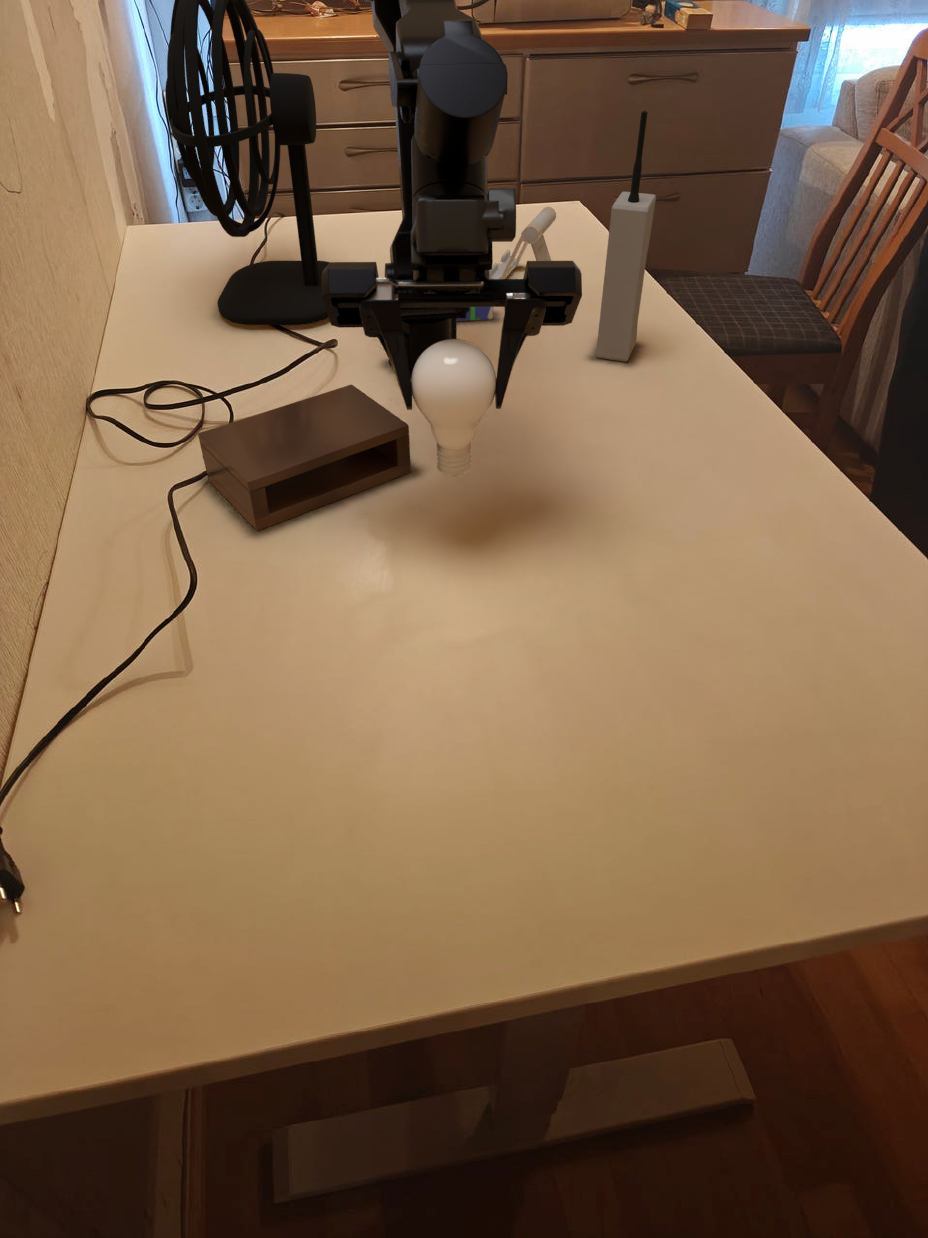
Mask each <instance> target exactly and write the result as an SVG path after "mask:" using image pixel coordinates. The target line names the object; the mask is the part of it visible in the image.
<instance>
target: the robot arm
mask: <svg viewBox="0 0 928 1238" xmlns="http://www.w3.org/2000/svg"><path fill="white" fill-rule="evenodd" d="M364 2H366V3H367V2H370V3H371V5H370V6H371V17H372V27H373V29H374V31H375V33H376V34H377V36H378V38H379V39H380V40H381V43H382V44H383V46H384V47H385V49H386V50H387V52H388V76H389V77H388V78H389V79H388V81H389V93H390V101H391V106H392V107H393V108H394V116H395V117H394V118H395V119H394V120H395V133H396V147H397V160H398V161H397V162H398V174H399V188H400V189H399V190H400V203H401V222H400V224H399V226H398V229H397V231H396V233H395V235H394V238H393V240H392V242H391V244H390V246H389V258H390V259H389V261H390V262H386V263H385V262H384V277H380V276H379V270H378V265H377V261H329V262H330V263H329V264H328V265H327V266H326V268H325V269H324V270H323V272H322V299H323V302H324V305H325V308H326V311H327V314H328V317H329V318H328V320H329V323H330V326H334V327H335V328H339V329H341V328H344V329H345V328H362V330H363V334H364V336H365V337H367V338H377V339H378V340H379V343H380V344H381V346H382V348H383V351H384V352H385V354H386V356H387V358H388V364H389V365H390V366H391V367H392V370H393V372H394V375H395V378H396V381H397V384H398V387H399V390H400V393H401V395H402V398H403V403H404V405H405V407H406V408H405V409H406V410H407V411H411V410H413V395H412V387H411V377H412V372H413V368H414V366H415V363H416V361H417V360H418V358H419V357H420V355H421V354H422V353H423V352H424V351H425V350H426V349H427V348H428V347H430V346H431V345H433V344H435V343H437V342H439V341H443V340H447V339H458V337H457V334H458V331H457V327H458V324H457V323H458V321H457V318H461V319H466V313H468V312H470V307H494V308H504V315H503V320H502V326H501V333H500V341H499V351H498V359H497V368H496V369H497V370H496V393H495V397H494V401H495V409H496V410H501V409H502V406H503V402H504V399H505V396H506V392H507V389H508V385H509V381H510V378H511V375H512V372H513V369H514V366H515V365H514V364H515V362H516V360H517V358H518V355H519V353H520V351H521V349H522V347H523V345H524V342H525V340H526V338H527V337H535V336H538V335H539V334H540V332H541V329H542V327H554V326H555V327H565V326H566V325H569V324H572V323H573V321H574V318H575V315H576V312H577V309H578V308H579V305H580V303H581V300H582V297H583V275H582V271H581V269H580V267H579V266H578V265H577V264H576V263H575V262H574V260H551V261H536V260H527V261H526V265H525V268H524V272H523V273H524V274H523V278H505V279H490V270H492V266H493V265H494V264H493V261H494V260H493V259H494V255H493V243H512V242H513V241H514V240H515V238H516V237H517V236H516V235H517V196H516V195H517V194H516V188H511V187H509V188H505V187H501V188H500V187H499V188H497V187H495V188H494V187H493V188H489V182H488V181H489V178H488V177H489V175H488V172H489V171H488V156H489V155H490V154H491V151H492V150H493V146H494V143H495V139H496V135H497V131H498V126H499V122H500V118H501V115H502V110H503V109H502V108H503V105H504V100H505V96H507V95H508V77H509V76H508V75H509V73H508V68H507V65H506V63H504V60H503V59H502V56H501V55H500V54H499V53H498V50H496V49H495V47H493V45H491V44H490V43H489V42H487V41H486V40H485V39H484V37H483V35H482V31H481V29H480V25H479V23H478V21H477V20H476V19H475V18H474V17H472V16H470V15H469V14H466V13H465V12H463V11H461V10H459V8H458V6H457V1H456V0H364Z"/></svg>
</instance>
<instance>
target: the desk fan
mask: <svg viewBox="0 0 928 1238" xmlns="http://www.w3.org/2000/svg"><path fill="white" fill-rule="evenodd" d="M200 8H201V11H202V12H203V14H204V16H205V18H206V20H207V23H208V25H209V27H210V31H211V73H212V87H213V90H211V91H210V86H209V82H208V77H207V72H206V69H205V65H204V62H203V58H202V55H201V53H200V50H199V48H198V47H199V46H198V45H199V44H198V39H199V37H198V36H199V35H198V34H199V33H198V30H199V29H198V25H199V10H200ZM226 14H227V17H228V20H229V24H230V27H231V31H232V36H233V39H234V44H235V48H236V52H237V57H238V63H239V67H240V73H241V74H240V75H241V79H242V80H241V81H242V85H236V86H235V85H234V83H233V76H232V71H231V66H230V62H229V56H228V52H227V48H226V44H225V39H224V37H223V33H224V30H223V29H224V23H225V22H224V21H225V16H226ZM169 35H170V36H169V41H168V47H167V56H166V81H165V107H166V113H167V118H168V122H169V126H170V130H171V135H172V137H173V139H174V140H175V142H176V144H177V148H178V151H179V155H180V158H181V160H182V163H183V166H184V168H185V170H186V172H187V174H188V176H189V178H190V179H191V180H192V182H194V183H195V186H196V188H197V192H198V194H199V197H200V199H201V201H202V202H203V204H204V207H206V209H207V211H208V212H209V213H210V214H211V215H213V216H214V217H216V218H217V221H218V222H219V224H220V226H221V228H222V229H223V231H224V232H225V233H226V234H227V235H228V236H230V237H232V238H245V237H247V236H248V235H249V234H250V233H253V232H255V231H256V230H257V229H259V228H260V227H261V226H262V225H263V224H264V223H265V220H266V219H267V217H268V216H269V214H270V212H271V210H272V207H273V204H274V201H275V198H276V194H277V189H278V182H279V176H280V166H281V165H280V164H281V146H287V154H288V163H289V169H290V177H291V186H292V193H293V194H292V195H293V203H294V211H295V218H296V219H295V220H296V227H297V235H298V244H299V253H300V259H301V260H294V259H293V260H290V259H289V260H288V259H287V260H285V259H283V260H264V261H259V262H255V263H251V264H247V265H245V266H243V267H241V268H239V269H237V270H236V271H235V272H233V273H232V275H230V277H229V278H228V280H227V282H226V284H225V286H224V288H223V290H222V291H221V293H220V295H219V296H218V299H217V303H216V304H217V310H218V313H219V315H220V316H221V317H222V318H223V319H225V321H228V322H231V323H233V324H236V325H237V324H238V325H244V326H304V325H305V326H306V325H311V324H315V323H320V322H322V321H325V320H327V319H329V317H328V314H327V311H326V308H325V305H324V302H323V299H322V272H323V270H324V269H325V268H326V266H327V265H328V264H329V263H330V262H331V261H325V260H318V252H317V244H316V232H315V224H314V214H313V206H312V205H313V204H312V195H311V187H310V186H311V185H310V176H309V169H308V159H307V150H306V148H307V147H306V145H311V144H314V143H315V142H316V138H317V109H316V99H315V90H314V86H313V82H312V79H311V77H310V76H309V75H307V74H303V73H290V72H288V73H287V72H274V67H273V66H274V65H273V62H272V57H271V54H270V50H269V46H268V44H267V41H266V38H265V36H264V33H263V32H262V31H261V30H260V29H259V28H258V25H257V23H256V20H255V18H254V15H253V13H252V11H251V9H250V7H249V4H248V3H247V1H246V0H215V3H214V8H213V6H212V4H211V2H210V0H174V2H173V7H172V13H171V19H170V34H169ZM259 51H260V53H259ZM260 54H261V57H262V62H263V65H264V69H265V73H266V77H267V82H268V87H267V86H265V81H264V74H263V68H262V63H261V57H260ZM251 66H252V67H251ZM252 69H253V75H254V76H253V75H252ZM253 77H254V81H253ZM200 81H201V82H200ZM254 82H255V85H254ZM200 83H201V84H200ZM201 86H202V91H203V94H202V93H201ZM236 96H244V101H245V102H244V103H245V112H246V113H245V114H246V120H247V126H246V127H244V128H241V129H239V121H238V111H237V103H236ZM255 96H257V105H258V115H259V121H258V115H257V105H256V97H255ZM267 98H269V107H270V113H269V114H268V107H267V106H268V104H267ZM225 99H226V101H225ZM212 102H214V107H215V108H214V109H215V115H216V122H217V123H216V124H217V129H218V130H217V131H218V134H215V124H214V123H215V121H214V112H213V105H212ZM226 104H227V108H226ZM204 105H205V111H206V118H207V131H208V133H207V131H206V124H205V116H204V111H203V106H204ZM227 113H228V116H227ZM228 122H229V124H228ZM271 126H272V129H273V134H274V155H273V165H272V172H271V175H270V166H271V165H270V164H271V154H270V151H271V149H270V147H271V146H270V127H271ZM207 134H208V135H207ZM259 135H260V140H259ZM245 140H248V152H249V156H248V157H249V178H248V179H249V180H248V181H249V182H248V192H247V193H248V194H247V197H246V195H245V193H244V190H243V187H242V184H241V181H240V142H242V141H245ZM259 141H260V142H259ZM259 143H260V144H261V152H260V144H259ZM216 147H217V148H218V147H221V151H222V157H223V160H224V165H225V169H226V173H227V176H228V181H229V187H228V192H227V197H226V200H225V202H224V201H223V198H222V195H221V192H220V188H219V185H218V182H217V181H218V180H217V178H216V174H215V171H214V167H215V166H214V164H215V153H216V152H215V149H216ZM270 185H272V187H271V193H270V196H269V200H268V195H269V188H270V187H269V186H270ZM236 202H237V204H238V205H237V206H238V207H239V208H240V210H241V212H242V213H243V214H244V216H243V219H242V222H239V221H237V220H235V219H233V218H232V217H230V215H231V214H232V212H233V211H234V208H235V205H236ZM256 217H257V218H258V219H256Z"/></svg>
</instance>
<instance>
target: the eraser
mask: <svg viewBox="0 0 928 1238" xmlns="http://www.w3.org/2000/svg"><path fill="white" fill-rule="evenodd" d="M494 309H495V307H470V312H468V313H466V319H461V318H457V322H460V321H463V322H464V321H487V320H493V319H494V313H495V311H494Z"/></svg>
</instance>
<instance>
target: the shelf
mask: <svg viewBox="0 0 928 1238" xmlns="http://www.w3.org/2000/svg"><path fill="white" fill-rule="evenodd" d="M197 437H198V440H199V446H200V449H201V454H202V455H201V456H202V459H203V463H204V468H205V472H206V476H207V480H208V482H209V483H210V484H211V485H212V486H213V487H214V488H215V489H216V490H217V491H218V492H219V493H220V494H221V496H222V497H224V498H225V499H226V500H227V502H229V504H230V505H231V506H232V507H233V508H234V509H235V510H236V511H237V512H238V513H239V514H240V515H241V516H242V517H243V518H244V519H245V520H246V521H247V522H248V523H249V524H250V525H251V526H252V527H253V529H255V531H256V532H259V531H261V530H264V529H266V528H267V529H268V528H269V527H271V526H275V525H277V524H280V523H283V522H285V521H288V520H290V519H292V518H295V517H299V516H301V515H303V514H305V513H308V512H311V511H314V510H316V509H318V508H321V507H324V506H326V505H329V504H332V503H335V502H337V501H340V500H342V499H345V498H347V497H349V496H352V495H356V494H358V493H360V492H363V491H365V490H368V489H371V488H373V487H376V486H378V485H382V484H383V483H387V482H389V481H391V480H394V479H396V478H399V477H402V476H405V475H408V474H410V473H411V472H412V468H411V445H410V424H408V423H407V422H405V421H404V420H403V419H401V418H399V417H398V416H397V415H395V414H394V413H392V412H391V411H390V410H388V409H387V408H385V407H384V406H383V405H381V404H380V403H379V402H377V401H376V400H374V399H373V398H371V397H370V396H369V395H367V394H366V393H365V392H363V391H362V390H360V389H359V388H358V387H356V386H355V385H353V384H348V385H345V386H342V387H337V388H335V389H331V390H329V391H326V392H323V393H320V394H316V395H314V396H310V397H307V398H304V399H301V400H298V401H295V402H291V403H288V404H285V405H282V406H279V407H276V408H272V409H270V410H266V411H263V412H260V413H257V414H254V415H250V416H248V417H245V418H242V419H238V420H235V421H232V422H229V423H226V424H223V425H220V426H216V427H213V428H210V429H207V430H204V431H201V432H198V433H197Z"/></svg>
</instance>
